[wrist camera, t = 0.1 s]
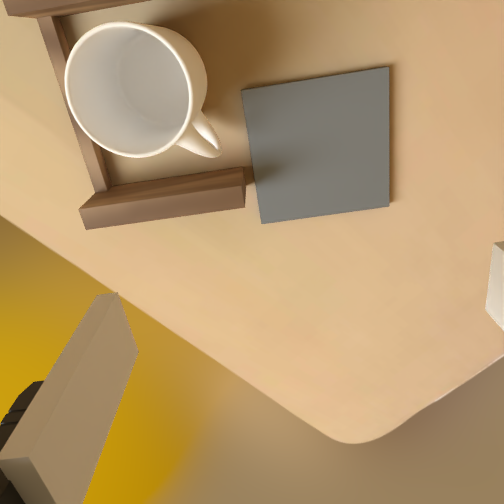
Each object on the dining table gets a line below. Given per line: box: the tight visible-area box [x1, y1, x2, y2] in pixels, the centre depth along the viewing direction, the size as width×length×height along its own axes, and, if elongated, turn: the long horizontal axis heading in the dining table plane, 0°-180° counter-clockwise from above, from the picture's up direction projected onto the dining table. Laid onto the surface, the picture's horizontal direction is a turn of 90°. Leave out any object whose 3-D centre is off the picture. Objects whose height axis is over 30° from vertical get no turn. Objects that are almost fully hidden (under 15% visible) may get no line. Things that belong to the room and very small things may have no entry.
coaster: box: [241, 66, 389, 224], centre depth 40 cm, size 13×13×1 cm
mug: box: [65, 21, 222, 158], centre depth 33 cm, size 9×12×11 cm
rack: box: [3, 0, 246, 230], centre depth 35 cm, size 19×14×6 cm
